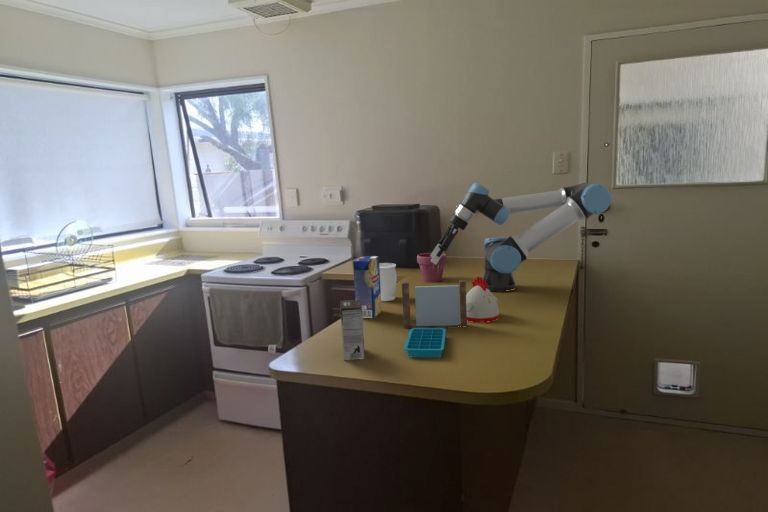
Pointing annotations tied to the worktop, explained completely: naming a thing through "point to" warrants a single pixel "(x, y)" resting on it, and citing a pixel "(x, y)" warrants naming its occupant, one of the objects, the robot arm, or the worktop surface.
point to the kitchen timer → (481, 303)
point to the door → (437, 305)
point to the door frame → (408, 325)
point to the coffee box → (352, 329)
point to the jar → (387, 281)
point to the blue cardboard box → (368, 285)
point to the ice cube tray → (425, 342)
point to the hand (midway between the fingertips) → (432, 260)
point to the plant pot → (431, 267)
